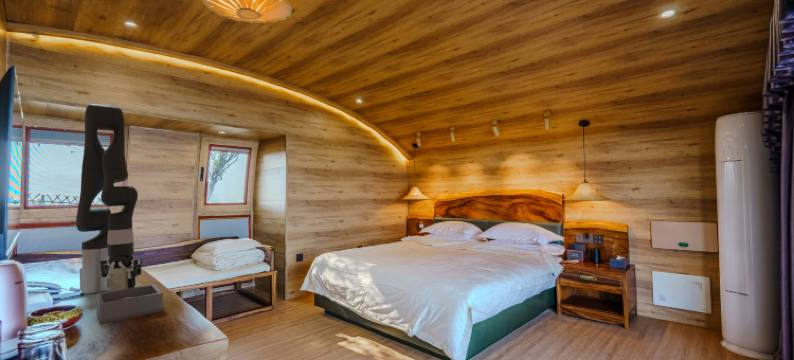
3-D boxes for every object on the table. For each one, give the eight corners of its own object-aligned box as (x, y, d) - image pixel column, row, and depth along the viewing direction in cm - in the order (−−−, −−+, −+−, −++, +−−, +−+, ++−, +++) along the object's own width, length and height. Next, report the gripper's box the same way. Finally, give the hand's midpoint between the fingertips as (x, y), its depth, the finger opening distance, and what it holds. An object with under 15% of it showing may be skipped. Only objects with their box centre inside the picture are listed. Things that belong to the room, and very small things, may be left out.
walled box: (99, 324, 111) (99, 304, 111) (97, 312, 123) (96, 293, 123) (162, 311, 121) (162, 292, 121) (154, 301, 133) (154, 284, 133)
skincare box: (135, 300, 136) (134, 266, 136) (125, 303, 131) (124, 268, 132) (118, 300, 136) (118, 266, 136) (108, 303, 132) (107, 268, 132)
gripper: (147, 240, 137) (148, 285, 137) (110, 240, 138) (111, 286, 138) (131, 243, 130) (132, 291, 130) (92, 244, 131) (93, 291, 131)
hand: (121, 288), depth 134 cm, fingers open, 6 cm apart
